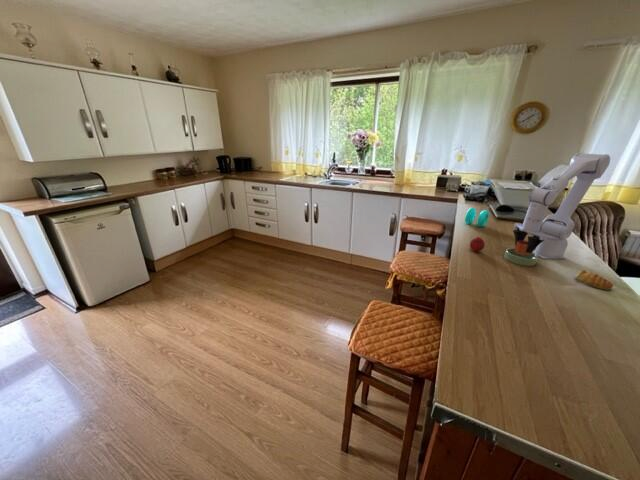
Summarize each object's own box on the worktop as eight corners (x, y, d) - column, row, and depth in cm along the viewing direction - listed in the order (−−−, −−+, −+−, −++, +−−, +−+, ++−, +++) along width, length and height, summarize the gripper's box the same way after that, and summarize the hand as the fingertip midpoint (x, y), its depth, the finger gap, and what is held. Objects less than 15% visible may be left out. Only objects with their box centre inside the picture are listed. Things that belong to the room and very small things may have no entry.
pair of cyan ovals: (468, 221, 159) (472, 205, 155) (486, 225, 152) (491, 209, 148) (462, 224, 152) (466, 208, 148) (480, 229, 146) (485, 212, 142)
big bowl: (521, 254, 115) (523, 247, 114) (542, 266, 105) (545, 259, 104) (498, 255, 115) (500, 248, 113) (516, 267, 105) (519, 259, 103)
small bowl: (523, 249, 111) (526, 240, 109) (533, 255, 106) (537, 245, 104) (511, 249, 111) (514, 240, 109) (520, 255, 106) (524, 245, 104)
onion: (484, 255, 114) (489, 238, 111) (470, 254, 115) (474, 237, 112) (479, 249, 120) (484, 234, 116) (466, 248, 121) (470, 233, 117)
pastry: (613, 287, 91) (618, 278, 90) (607, 293, 88) (612, 283, 86) (579, 275, 98) (583, 267, 97) (572, 280, 95) (576, 271, 94)
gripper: (511, 213, 109) (502, 242, 114) (539, 224, 96) (527, 257, 101) (527, 213, 109) (517, 242, 115) (557, 224, 96) (544, 256, 101)
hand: (523, 249), depth 108 cm, fingers closed on small bowl, 5 cm apart
